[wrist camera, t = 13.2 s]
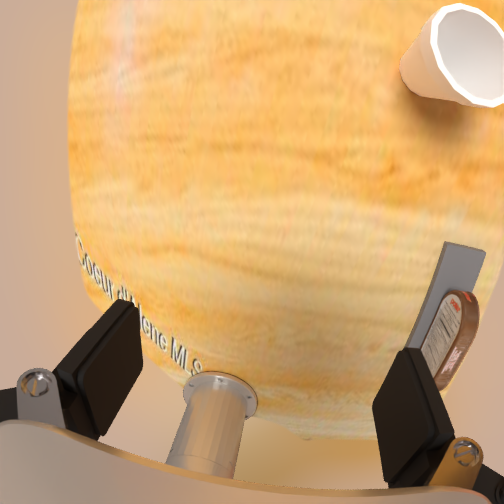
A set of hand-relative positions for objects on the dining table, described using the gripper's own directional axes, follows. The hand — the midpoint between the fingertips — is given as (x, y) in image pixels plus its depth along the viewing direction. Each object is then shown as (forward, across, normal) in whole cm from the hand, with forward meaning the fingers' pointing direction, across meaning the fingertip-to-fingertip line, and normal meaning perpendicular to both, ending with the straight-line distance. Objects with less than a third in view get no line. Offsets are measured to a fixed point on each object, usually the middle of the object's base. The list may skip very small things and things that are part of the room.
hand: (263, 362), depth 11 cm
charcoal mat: (+28, -25, +14) cm, 40 cm away
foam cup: (+28, -14, -18) cm, 36 cm away
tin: (+28, -24, +14) cm, 39 cm away
